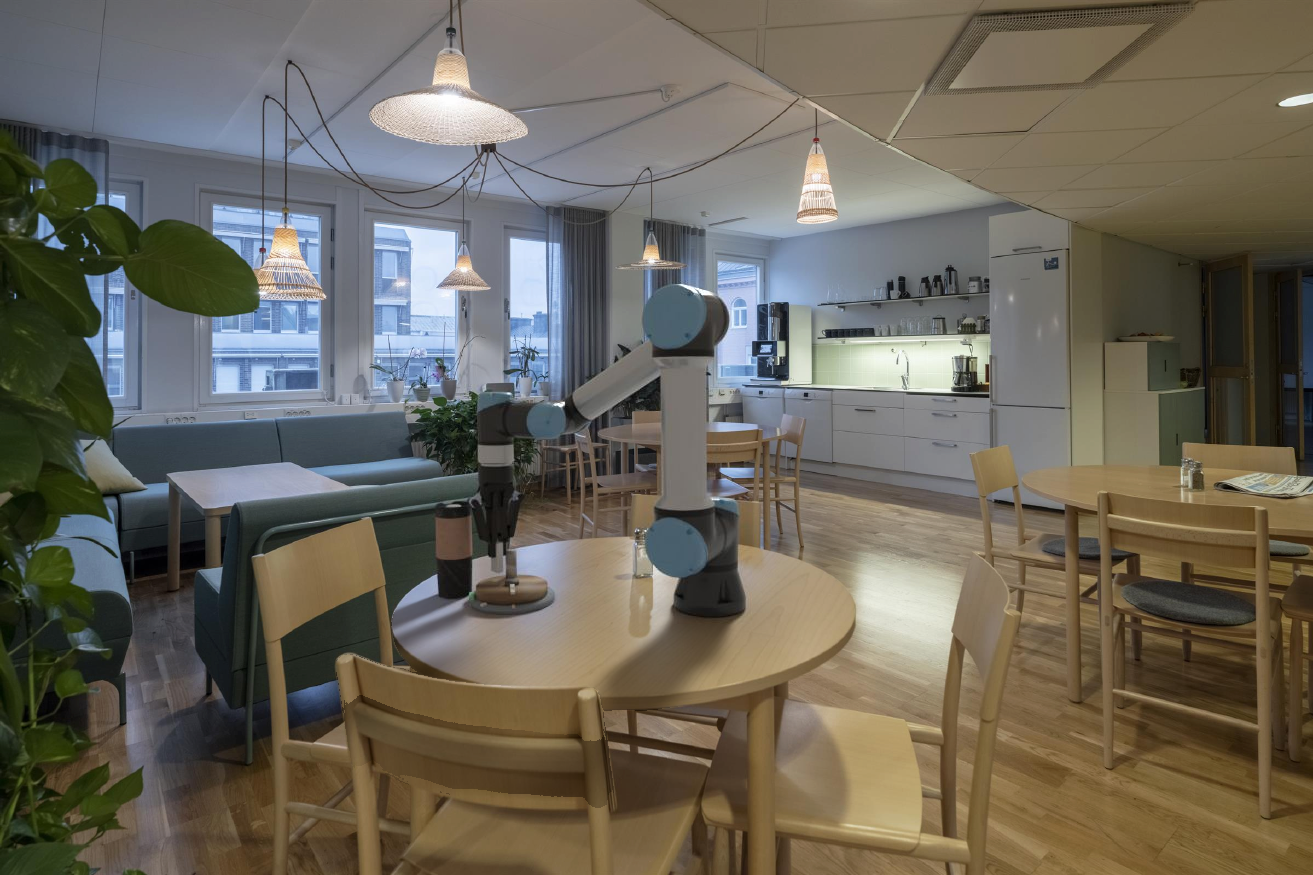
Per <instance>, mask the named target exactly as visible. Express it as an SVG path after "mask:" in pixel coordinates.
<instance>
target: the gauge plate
mask: <svg viewBox="0 0 1313 875" xmlns="http://www.w3.org/2000/svg"><path fill="white" fill-rule="evenodd" d="M555 597H556V593H555V591H554V589H553V588H551V587H549V586H548V593H547V595H546V596H545V597H543V598H541V599H539V600H536V601H533V602H528V603H523V604H513V605H498V604H490V603H485V602H482V601H480V600H478V599H477V598H476V590H474V591H472V592H469V596H468V605H469V607H470V608H471V609H472V610H474V611H476V610H477V611H476V612H479V613H483V614H488V615H489V614H491V615H518V614H526V613H527V614H528V613H531V612H532V613H533V612H535V611H539V610H543V609H545V608H547V607H549V606H551V605H553V603H554V602H555V599H556V598H555Z"/></svg>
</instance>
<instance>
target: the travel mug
mask: <svg viewBox="0 0 1313 875" xmlns="http://www.w3.org/2000/svg"><path fill="white" fill-rule="evenodd" d="M434 512H435V557H436V559H435V560H436V576H437V577H436V578H437V593H438V597H440V598H442V599H445V600H446V599H448V600H455V599H456V600H458V599H463V598H466V597H469V592H473V529H472V528H473V527H472V524H473V523H472V508H471V507H470V505H469V504H468V502H467V501H466V500H465V501H464V500H463V501H462V500H454V501H453V502H452V503H444V502H439V503H436V504H435V511H434Z"/></svg>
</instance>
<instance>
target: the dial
mask: <svg viewBox="0 0 1313 875" xmlns="http://www.w3.org/2000/svg"><path fill="white" fill-rule="evenodd" d="M517 554H518V553H517V549H514V548H513V549H512V548H511V549H510V548H509V549H506V555H505V556H504V557H505V574H504V575H502V574H501V575H498V576H497V575H496V576H491V577H488V578H485V579H482V580H480V581H479V582H477V584H476V585H475V591H476V598H477V599H478V600H480V601H482V602H485V603H490V604H498V605H513V604H523V603H528V602H533V601H536V600H539V599H541V598H543V597H545V596H546V595H547V593H548V587H549V586H548V581H547V579H545V578H543V577H541V576H538V575H532V574H531V575H530V574H518V572H517V570H518V567H517V566H518V563H517V560H518V558H517Z"/></svg>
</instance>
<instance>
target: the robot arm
mask: <svg viewBox="0 0 1313 875" xmlns="http://www.w3.org/2000/svg"><path fill="white" fill-rule="evenodd" d="M730 319H731V318H730V311H729V309H728V307H727V305H726V303H725V302H724V300H723V299H722V298H721V297H720V296H718V295H717V294H716V293H714V292H712V291H709V290H706V289H701V288H698V287H694V286H693V285H690V284H682V283H678V284H676V283H674V284H672V283H671V284H668V285H665V286H662V287H660V288H658V289H656V291H654V293H653V292H652V295H651V296H649V297H648V299H647V301H646V303H645V305H644V307H643V310H642V315H641V324H642V325H641V326H642V330H643V332H644V335H645V336H646V338H647V339H648V340H646V341H645V342H643V343H642V344H640V345H639V346H637V347H636V348H635V349H632V351H630V352H629V353H628V354H627V353H626V355H624V356H623V357H622V358H620V359H618V360H617V361H616V362H615V363H613V364H611V365H610V366H608V367H607V368H606V369H604V370H603V371H601V372H600V373H597V375H595V376H594V377H593V378H592V379H590V380H588V381H587V382H586V383H584V384H583V385H581V386H579V387H578V388H576V389H575V390H574V391H572V392H571V393H569V394H568V395H567V396H565V397H564V398H562V399H559V400H552V401H538V402H531V401H529V402H527V401H526V402H525V401H523V402H521V401H520V402H518V401H515V400H514V395H513V393H512V392H510V391H509V392H507V391H486V392H485V391H483V392H481V393H479V394H478V396H477V405H476V406H477V407H476V413H475V414H476V421H477V422H476V424H477V438H478V439H477V462H478V463H479V465H478V467H477V482H478V487H477V491H476V494H475V495H474V496H472V497H468V498H467V500H466V502H468V504H469V505H470V507H471V513H472V515H473V520H474V523H475V527H476V532H477V535H478V539H479V540H480V541H483V542H485V543H487V556H488V557H489V558H490V569H491V570H490V571H492V572H494V573H496V574H501V573H504V557H505V555H506V550H507V543H509V541H510V538H511V539H512V538H514V537H515V532H516V528H517V522H518V519H519V518H518V517H519V513H520V508H521V505H522V503H523V501H524V498H525V494H524V493H522V492H518V491H517V490H516V488H515V485H514V481H515V480H514V479H515V472H514V471H515V469H514V468H515V467H514V465H513V464H512V463H513V462H514V461H515V460H514V459H515V458H514V457H515V454H514V438H521V439H522V438H523V439H536V440H540V441H544V440H555V439H558V438H559V437H560V436H562V435H571V434H572V435H573V434H578V433H579V432H583V431H585V430H587V428H589V427H590V425H591V423H592V421H593V420H594V419H595V420H596V418H598V417H599V416H601V415H602V414H604V413H605V412H606V411H608V410H610V409H612V408H613V407H614V406H616V405H617V404H618V403H620V402H622V401H623V400H626V398H628V397H630V396H632V395H633V394H634V393H636V392H637V391H639V390H640V389H642V388H644V386H645V387H646V385H648V384H649V383H651V382H652V381H654V380H656V379H657V378H659V377H660V445H661V446H660V453H661V455H660V457H661V462H660V463H661V468H660V469H661V471H660V472H661V473H660V474H661V494H660V496H659V497H658V498H657V499H656V500H655V501H654V503H653V522H652V524H651V526H650V527H649V528H648V530H647V532H646V534H645V538H644V548H645V554H646V556H647V558H648V560H649V561H650V563H651V564H652V566H654V567H655V569H657V571H659V572H660V573H662V574H663V575H665V576H668V577H671V578H678V581H677V583H676V586H675V589H674V592H673V607H674V609H676V610H677V611H679V612H682V613H685V614H688V615H692V616H697V617H709V618H713V617H727V616H732V615H736V614H739V613H741V612H743V611H744V610H745V609H746V605H747V604H746V603H747V595H746V592H745V589H744V586H743V583H742V579H741V576H740V573H739V566H738V565H739V532H740V531H739V530H740V529H739V528H740V526H739V524H740V523H739V522H740V519H739V518H740V512H739V503H738V501H737V500H735V499H734V498H729V497H721V496H720V497H719V496H709V495H708V490H707V489H708V483H707V482H708V481H707V480H708V479H707V478H708V476H707V474H708V473H707V472H708V470H707V466H708V464H707V452H708V450H707V449H708V448H707V446H708V444H707V367H708V366H709V364H711V363H712V362H713V361H714V360H715V347H716V346H717V345H719V344H720V343H721V342H722V341H723V339H724V338H725V337H726V335H727V333H728V330H729V327H730ZM509 501H510V502H509ZM482 504H484V510H483V508H482V506H481V505H482ZM484 511H485V514H484Z"/></svg>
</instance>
